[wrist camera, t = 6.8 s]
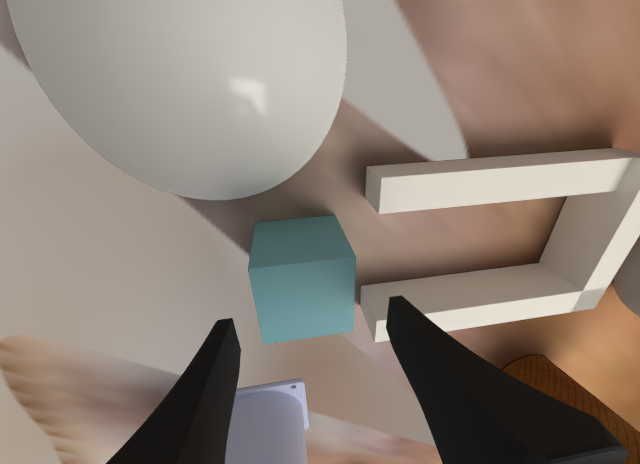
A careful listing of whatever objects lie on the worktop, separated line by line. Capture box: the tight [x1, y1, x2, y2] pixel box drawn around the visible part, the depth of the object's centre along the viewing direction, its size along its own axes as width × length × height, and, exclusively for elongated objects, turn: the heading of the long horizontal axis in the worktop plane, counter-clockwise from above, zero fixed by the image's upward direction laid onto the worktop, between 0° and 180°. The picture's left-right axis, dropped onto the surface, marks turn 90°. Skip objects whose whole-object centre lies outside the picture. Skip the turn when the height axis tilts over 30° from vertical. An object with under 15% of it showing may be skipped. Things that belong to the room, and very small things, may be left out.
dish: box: [6, 0, 347, 200], centre depth 11 cm, size 13×13×1 cm
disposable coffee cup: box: [502, 355, 640, 464], centre depth 24 cm, size 10×10×12 cm
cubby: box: [360, 148, 640, 342], centre depth 17 cm, size 17×11×4 cm, turn 92°
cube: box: [248, 215, 356, 344], centre depth 15 cm, size 5×5×5 cm
